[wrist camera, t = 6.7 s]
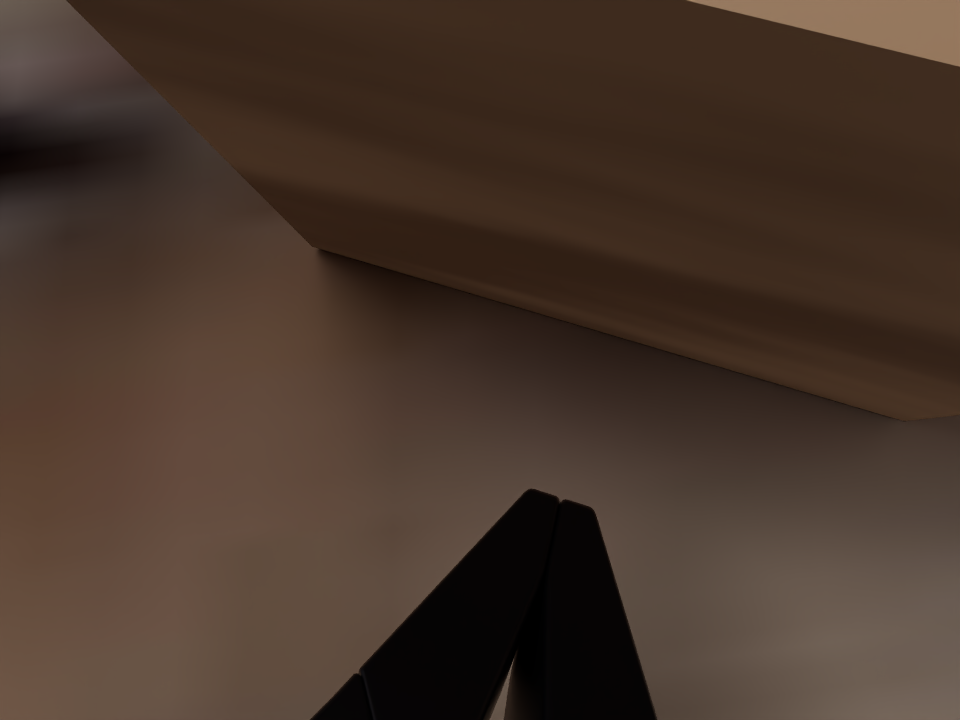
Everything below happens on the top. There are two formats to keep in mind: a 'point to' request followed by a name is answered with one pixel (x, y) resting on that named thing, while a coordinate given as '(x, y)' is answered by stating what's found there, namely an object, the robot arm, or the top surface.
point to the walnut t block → (612, 163)
